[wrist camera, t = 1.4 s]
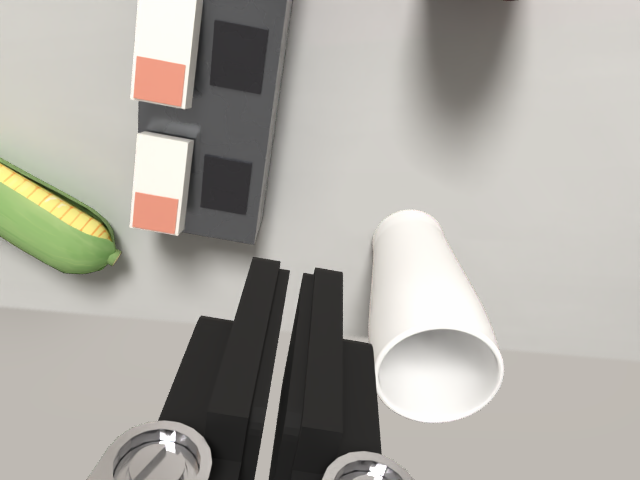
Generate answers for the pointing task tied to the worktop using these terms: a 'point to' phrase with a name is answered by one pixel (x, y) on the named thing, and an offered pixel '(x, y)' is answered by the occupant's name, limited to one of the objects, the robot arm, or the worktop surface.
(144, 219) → the block
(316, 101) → the worktop surface
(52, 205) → the edible corn
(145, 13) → the plate
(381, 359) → the drinking glass
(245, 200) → the rocker switch panel
